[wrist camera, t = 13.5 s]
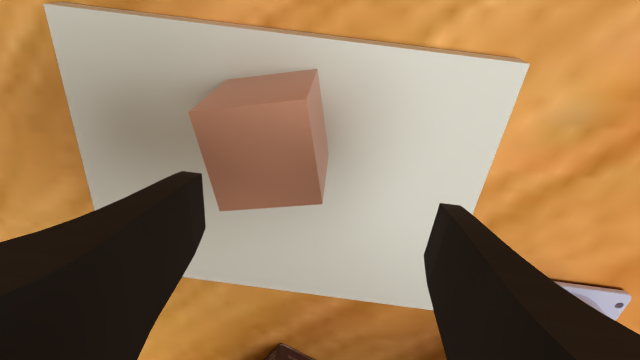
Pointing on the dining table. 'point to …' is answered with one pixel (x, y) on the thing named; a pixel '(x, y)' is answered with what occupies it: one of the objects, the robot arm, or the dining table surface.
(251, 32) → the board
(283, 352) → the box
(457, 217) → the robot arm
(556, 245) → the dining table surface
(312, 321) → the dining table surface
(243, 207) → the peach colored cube
